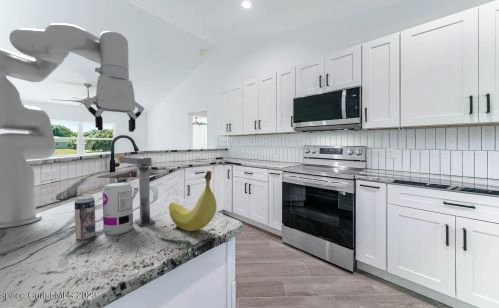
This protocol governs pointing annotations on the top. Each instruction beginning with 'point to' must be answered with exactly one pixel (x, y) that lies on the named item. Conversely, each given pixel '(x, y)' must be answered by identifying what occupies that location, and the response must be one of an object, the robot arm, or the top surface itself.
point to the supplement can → (117, 208)
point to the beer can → (85, 217)
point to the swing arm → (135, 161)
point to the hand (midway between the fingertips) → (116, 130)
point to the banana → (195, 210)
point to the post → (144, 198)
